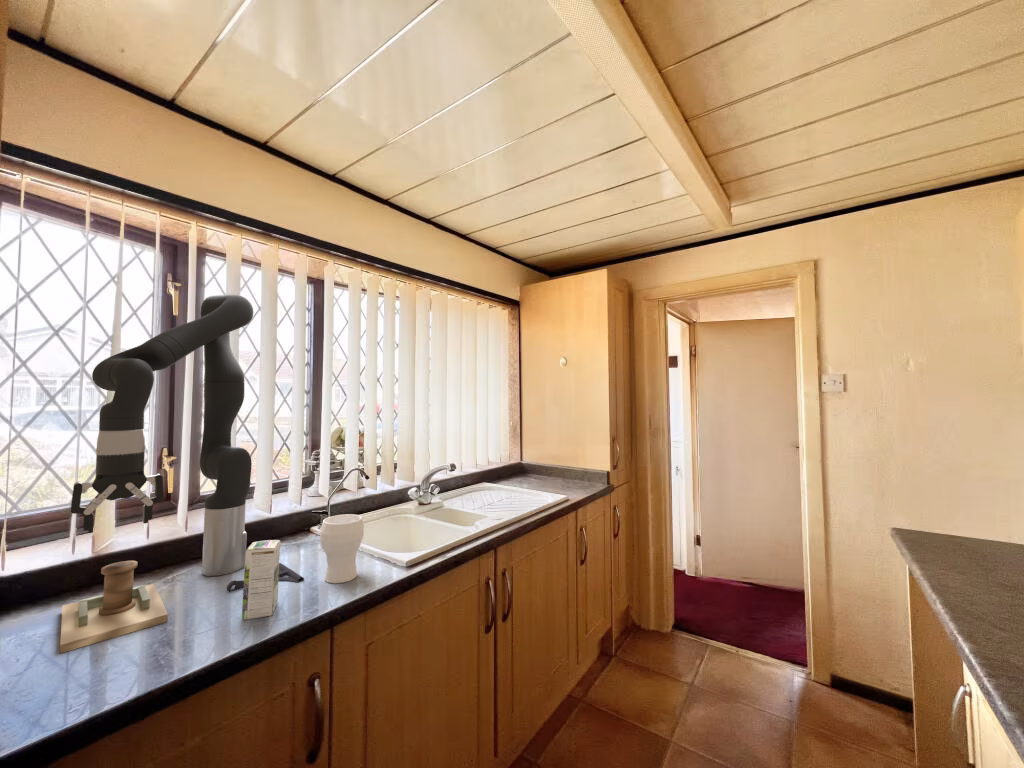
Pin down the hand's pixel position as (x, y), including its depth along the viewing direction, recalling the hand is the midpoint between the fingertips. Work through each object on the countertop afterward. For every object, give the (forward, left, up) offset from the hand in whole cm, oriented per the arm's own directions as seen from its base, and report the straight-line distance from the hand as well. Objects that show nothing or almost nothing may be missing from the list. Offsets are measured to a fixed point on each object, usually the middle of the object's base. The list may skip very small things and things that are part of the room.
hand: (118, 527), depth 87 cm
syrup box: (-22, +20, -19) cm, 35 cm away
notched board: (0, 0, -19) cm, 19 cm away
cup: (-42, +15, -19) cm, 48 cm away
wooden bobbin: (0, 0, -17) cm, 17 cm away
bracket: (-27, +3, -20) cm, 33 cm away
